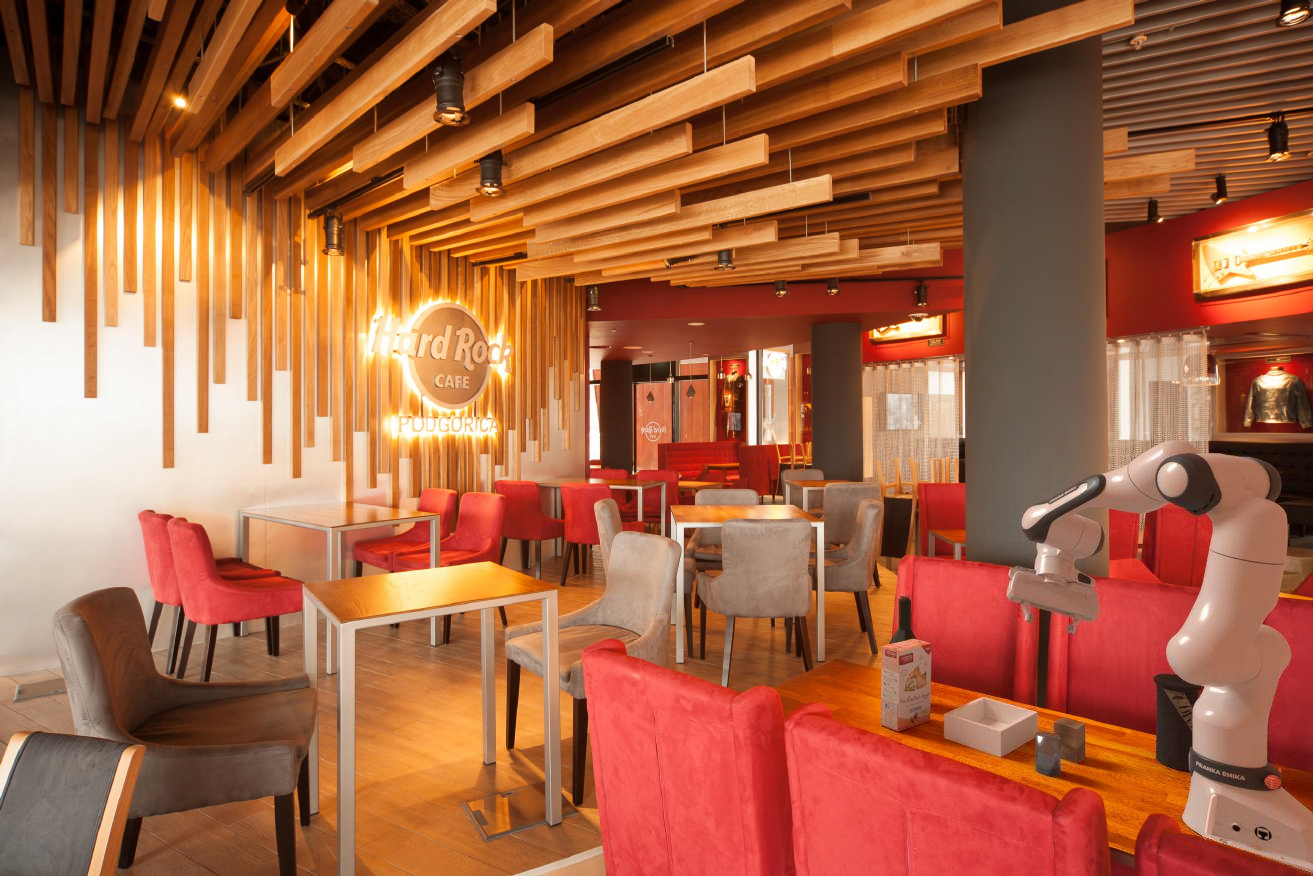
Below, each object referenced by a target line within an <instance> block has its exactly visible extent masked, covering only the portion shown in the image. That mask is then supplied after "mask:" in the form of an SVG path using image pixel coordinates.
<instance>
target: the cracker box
mask: <svg viewBox="0 0 1313 876" xmlns="http://www.w3.org/2000/svg"><path fill="white" fill-rule="evenodd" d="M931 683H932V643H931V642H927V641H925V640H920V639H918V638H917V639H911V640H906V641H902V642H898V643H893V644H885V645H882V646H881V683H880V685H881V690H880V692H881V693H880V695H881V697H880V725H881V726H883V727H885V728H888V729H889V730H893V731H895V732H898V733H899V732H902V731H904V730H909V729H910V728H913V727H916V726H920V725H923V724H924V723H928V722H930V721H931V695H932V694H931V689H932V686H931Z"/></svg>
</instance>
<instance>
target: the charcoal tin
mask: <svg viewBox="0 0 1313 876" xmlns="http://www.w3.org/2000/svg"><path fill="white" fill-rule="evenodd" d="M1034 739H1035V741H1034V742H1035V743H1034V744H1035V747H1034V748H1035V749H1034V750H1035V751H1034V752H1035V753H1034V754H1035V755H1034V756H1035V757H1034V758H1035V760H1034V762H1035V764H1034V765H1035V766H1034V767H1035V768H1034V770H1035V771H1036V773H1038V774H1040V775H1043V776H1046V777H1053V778H1057V777H1058V778H1059V777H1060V776H1061V775H1062V774H1061V773H1062V767H1061V766H1062V764H1061V763H1062V759H1061V737H1060V736H1059V735H1057V734H1054V732H1051V731H1046V730H1045V731H1043V730H1042V731H1040V730H1038V732H1036V733H1035V738H1034Z"/></svg>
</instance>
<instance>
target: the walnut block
mask: <svg viewBox="0 0 1313 876" xmlns="http://www.w3.org/2000/svg"><path fill="white" fill-rule="evenodd" d="M1053 733H1054V734H1057V735H1059V736H1060V737H1061V760H1063V761H1067V762H1068V763H1069V762H1070V763H1073V764H1076V765H1078V764H1079V763H1080V762H1082V761H1084V759H1085V760H1086V723H1084V722H1080V721H1077V720H1073V719H1069V718H1066V717H1061V718H1059V719H1057V720H1056V721H1054V722H1053Z"/></svg>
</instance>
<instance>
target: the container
mask: <svg viewBox="0 0 1313 876" xmlns="http://www.w3.org/2000/svg"><path fill="white" fill-rule="evenodd" d="M1152 679H1153V682H1154V683H1155V685H1156V717H1155V718H1156V721H1155V722H1156V725H1155V727H1156V728H1155V729H1156V733H1155V758H1156V761H1157V762H1159V764H1161V765H1164V766H1165V767H1168V768H1171V769H1174V770H1179V771H1185V772H1190V770H1189V752H1190V747H1192V745H1193V707H1194V704H1195V702H1196V701H1197V700H1198V699H1199V693H1200V691H1201V690H1202V688H1203V686H1201V685H1195V684H1191V683H1189V682H1187V681H1185V680H1183V679H1182V678H1180V677H1179V676H1178V675H1177V674H1176V673H1157V674H1155V675H1153V678H1152Z"/></svg>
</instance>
